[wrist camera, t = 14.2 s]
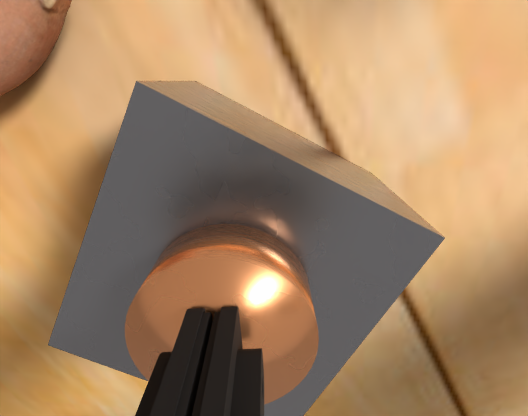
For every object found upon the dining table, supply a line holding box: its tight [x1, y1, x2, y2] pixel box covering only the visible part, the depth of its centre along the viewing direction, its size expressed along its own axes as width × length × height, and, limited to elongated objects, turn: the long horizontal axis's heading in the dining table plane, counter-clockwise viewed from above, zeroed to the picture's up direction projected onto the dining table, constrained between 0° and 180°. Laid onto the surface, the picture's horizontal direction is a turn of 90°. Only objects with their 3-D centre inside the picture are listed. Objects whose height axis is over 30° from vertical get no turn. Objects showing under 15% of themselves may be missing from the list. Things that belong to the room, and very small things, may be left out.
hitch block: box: [48, 81, 445, 416], centre depth 17 cm, size 12×12×9 cm
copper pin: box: [125, 224, 319, 405], centre depth 16 cm, size 6×6×10 cm
